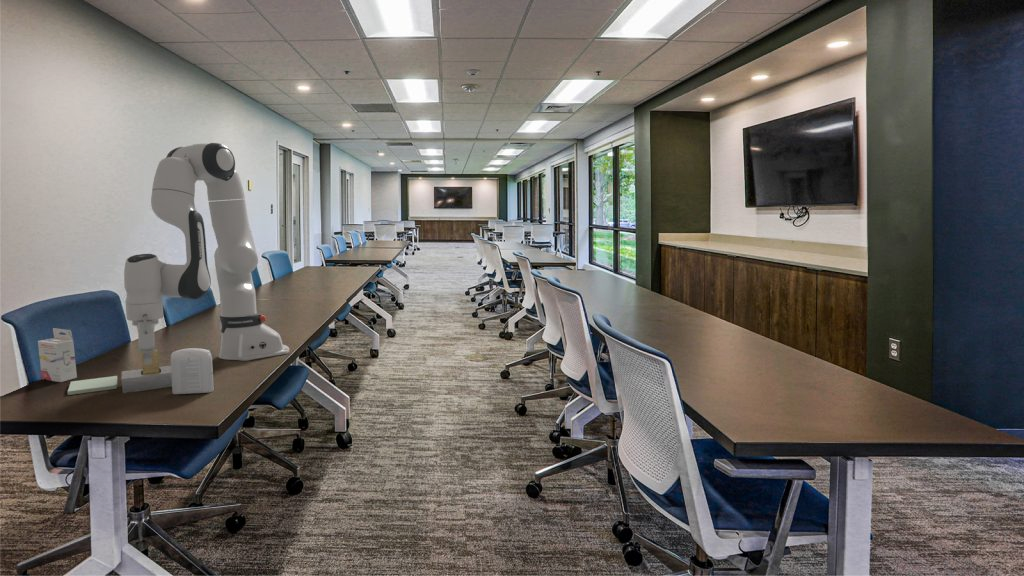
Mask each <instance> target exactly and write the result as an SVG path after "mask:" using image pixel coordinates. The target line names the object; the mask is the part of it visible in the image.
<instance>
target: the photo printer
mask: <svg viewBox="0 0 1024 576" xmlns="http://www.w3.org/2000/svg"><path fill="white" fill-rule="evenodd" d="M170 355H171V356H170V365H171V377H172V386H171V389H172V391H171V392H172V395H186V394H205V393H212V392H214V390H215V389H214V373H213V371H214V370H213V356H212V352H211V350H209V349H205V348H198V347H188V348H182V349H178V350H175V351H172V353H171V354H170Z"/></svg>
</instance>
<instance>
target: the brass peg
mask: <svg viewBox="0 0 1024 576" xmlns="http://www.w3.org/2000/svg"><path fill="white" fill-rule="evenodd" d="M140 356H141V369H143V374H151V373H159V367H160V362H159V350H158V348H155V349H154V350H152V363H151V364H149V365H145V364H144V357H143V351H140Z"/></svg>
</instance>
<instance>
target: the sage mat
mask: <svg viewBox="0 0 1024 576" xmlns="http://www.w3.org/2000/svg"><path fill="white" fill-rule="evenodd" d="M117 387H118V375H113V376H105V377H104V376H103V377H97V378H89V379H88V378H87V379H81V380H73V381H70V384H69V385H68V389H67V396H71V395H79V394H85V393H93V392H101V391H102V392H103V391H108V390H115V389H117Z"/></svg>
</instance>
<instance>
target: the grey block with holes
mask: <svg viewBox="0 0 1024 576" xmlns="http://www.w3.org/2000/svg"><path fill="white" fill-rule="evenodd" d="M120 380H121V387H122V390H121V391H122V394H127V393H134V392H135V393H136V392H141V391H148V390H155V389H162V388H163V389H164V388H170V387H171V388H172V377H171V364H170V365H165V366H164V365H163V366H159V373H151V374H143V369H142V368H138V369H130V370H123V371H121V379H120Z"/></svg>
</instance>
